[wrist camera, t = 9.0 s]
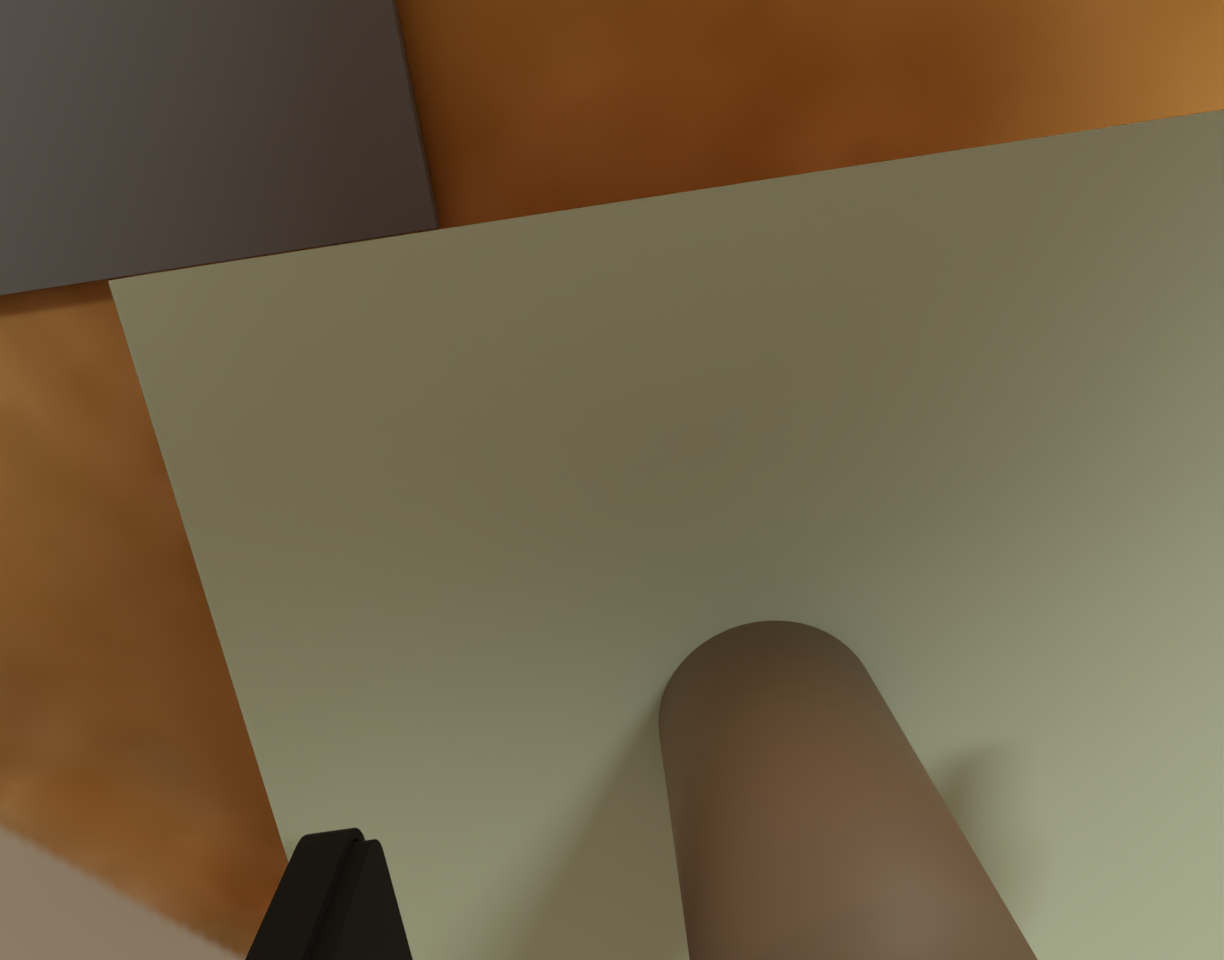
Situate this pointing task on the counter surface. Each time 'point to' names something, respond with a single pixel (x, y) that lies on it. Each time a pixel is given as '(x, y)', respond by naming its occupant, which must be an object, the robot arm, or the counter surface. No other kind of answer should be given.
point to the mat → (200, 134)
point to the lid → (739, 556)
